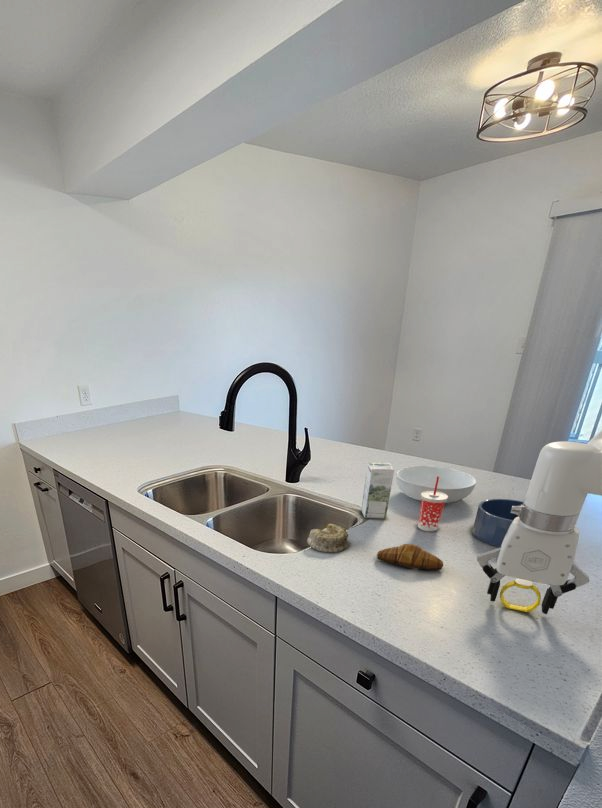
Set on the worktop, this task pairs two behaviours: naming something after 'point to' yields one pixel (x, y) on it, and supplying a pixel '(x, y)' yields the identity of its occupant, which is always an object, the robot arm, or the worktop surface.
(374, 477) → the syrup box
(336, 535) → the beige coiled mound
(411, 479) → the serving bowl
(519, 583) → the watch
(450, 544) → the worktop surface
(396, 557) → the croissant
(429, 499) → the beverage cup
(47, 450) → the worktop surface
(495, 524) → the blue pet bowl
